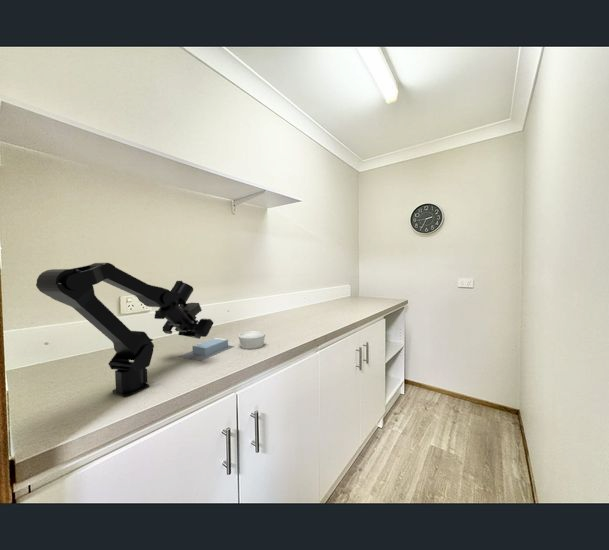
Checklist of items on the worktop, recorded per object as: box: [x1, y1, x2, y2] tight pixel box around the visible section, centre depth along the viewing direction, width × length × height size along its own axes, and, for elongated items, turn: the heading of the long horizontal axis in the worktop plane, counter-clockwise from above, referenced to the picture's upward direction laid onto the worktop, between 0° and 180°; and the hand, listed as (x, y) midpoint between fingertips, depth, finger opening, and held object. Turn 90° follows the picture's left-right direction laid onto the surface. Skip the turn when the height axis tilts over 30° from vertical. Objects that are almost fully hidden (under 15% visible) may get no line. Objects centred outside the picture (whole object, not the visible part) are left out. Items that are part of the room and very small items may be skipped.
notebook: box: [192, 337, 229, 356], centre depth 100 cm, size 3×7×12 cm
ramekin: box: [238, 330, 266, 350], centre depth 105 cm, size 11×11×5 cm
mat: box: [177, 344, 235, 362], centre depth 98 cm, size 18×12×1 cm, turn 155°
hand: (199, 337), depth 95 cm, fingers closed
